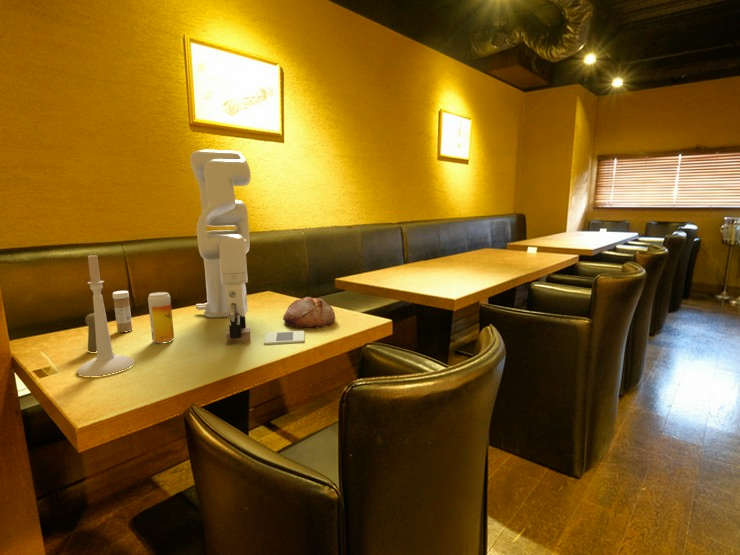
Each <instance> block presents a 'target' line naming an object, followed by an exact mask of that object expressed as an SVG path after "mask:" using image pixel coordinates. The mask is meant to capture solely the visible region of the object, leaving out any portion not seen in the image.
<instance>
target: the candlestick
mask: <svg viewBox="0 0 740 555" xmlns="http://www.w3.org/2000/svg"><path fill="white" fill-rule="evenodd" d="M87 261H88V269H89V277H90V281H88V282H87V284H89V286H90V290H91V291H92V293H93V295H92V300H93V301H92V303H93V313H94V318H95V332H96V347H97V353H96V357H94V358H93V359H89V360H88V361H87V362H83V364H81V365H80V366H79V367H78V369H77V371H76V374H77V373H78V374H79V375H82V376H90V377H91V376H103V375H108V374H112V373H116V372H119V371H122V370H125V369H127V368H129V367H130V366H132V365H133V364H134V362H135V359H134V358H132V357H130V356H128V355H124V354H114V352H113V350H114V349H113V346H112V341H111V335H110V331H109V326H108V318H107V319H106V317H107V313H106V308H105V304H104V298H103V295H102V290H103V283H104V282H105V280H101V277H100V276H101V275H100V269H99V268H100V267H99V260H98V255H97V254H96V255H94V254H93V253H91V255H87ZM135 363H136V362H135ZM134 365H135V364H134Z"/></svg>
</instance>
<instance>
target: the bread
mask: <svg viewBox="0 0 740 555" xmlns="http://www.w3.org/2000/svg"><path fill="white" fill-rule="evenodd" d="M282 320H283V321H284V323H285V324H286V325H287V326H289V327H292V328H296V327H297V329H303V328H310V329H313V328H314V329H321V328H325V327H326V326H327V327H331V326H332V325H334V324H335V322H336V313H335V310H334V308H333V307H332V306H331V304H330V303H328V302H326V301H324V300H323V298H318V297H316V298H315V297H311V296H306V297H303V298H300V299H296V300H294V301H293V302H292V303H291V304H289V306H288V307H287V309H286V311H285V313H284V315H283V319H282ZM330 325H331V326H330ZM327 327H326V328H327Z"/></svg>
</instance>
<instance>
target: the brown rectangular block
mask: <svg viewBox="0 0 740 555" xmlns="http://www.w3.org/2000/svg"><path fill="white" fill-rule="evenodd" d="M241 335H242V337H241V338H232V339H231V338H230V330H229V329H226V331H225V343H226V344H225V345H236V344H237V345H238V344H247V343H251V328H250V327H246V328H241Z"/></svg>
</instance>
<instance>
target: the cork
mask: <svg viewBox="0 0 740 555" xmlns="http://www.w3.org/2000/svg"><path fill="white" fill-rule="evenodd" d="M106 319H107V320H108V318H107V316H106ZM85 324H86V325H87V327H88V328H87V329H88V331H87V333H88V334H87V335H88V336H87V338H88V340H87V352H88V351H90V352H96V351H97V347H96V332H95V318H94V312H92V313H89V314H87V315H86V316H85Z"/></svg>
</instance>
